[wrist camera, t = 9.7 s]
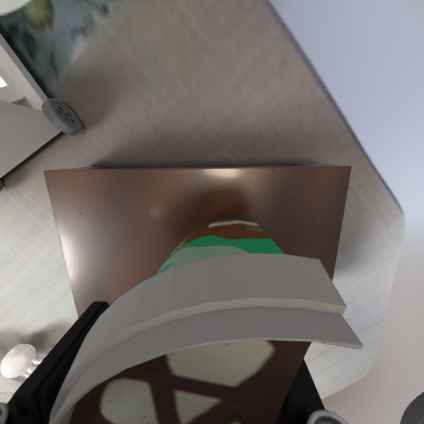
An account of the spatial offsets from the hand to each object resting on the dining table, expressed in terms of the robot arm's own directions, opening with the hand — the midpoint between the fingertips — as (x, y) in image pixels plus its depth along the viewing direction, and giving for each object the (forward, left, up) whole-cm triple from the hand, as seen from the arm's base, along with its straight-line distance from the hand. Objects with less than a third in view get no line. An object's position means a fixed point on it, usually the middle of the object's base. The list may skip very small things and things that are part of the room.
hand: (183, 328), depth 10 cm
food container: (0, 0, -5) cm, 5 cm away
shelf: (0, 0, -12) cm, 12 cm away
